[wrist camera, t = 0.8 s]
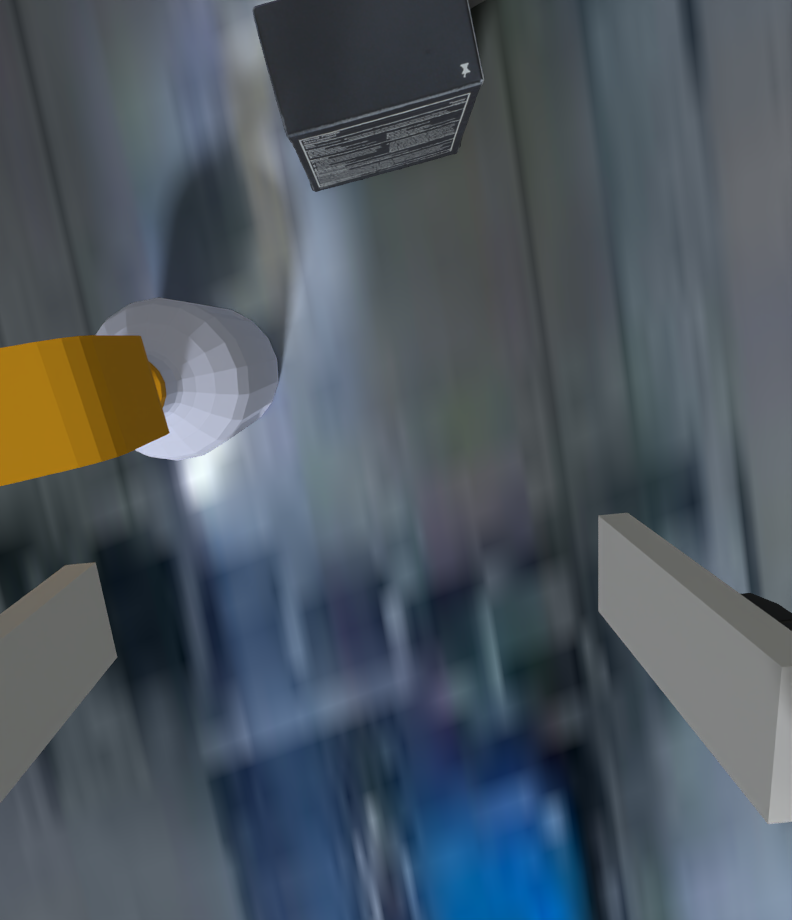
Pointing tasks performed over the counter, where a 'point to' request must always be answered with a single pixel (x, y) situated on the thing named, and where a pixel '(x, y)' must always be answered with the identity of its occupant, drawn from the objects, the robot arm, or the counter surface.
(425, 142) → the small box
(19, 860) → the counter surface
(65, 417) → the soap bottle
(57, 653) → the robot arm
